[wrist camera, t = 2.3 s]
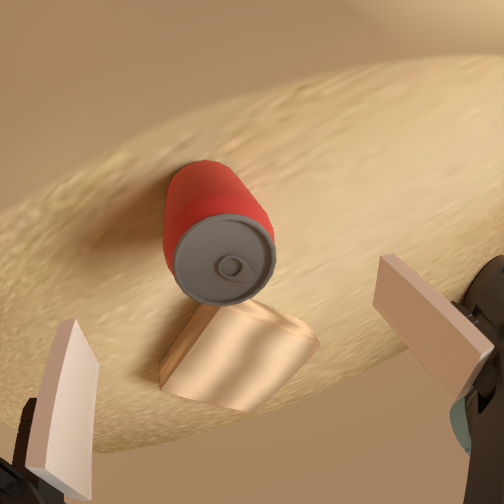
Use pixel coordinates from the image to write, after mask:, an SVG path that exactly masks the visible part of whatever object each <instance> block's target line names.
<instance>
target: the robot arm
mask: <svg viewBox="0 0 504 504" xmlns="http://www.w3.org/2000/svg"><path fill="white" fill-rule="evenodd" d="M372 305H373V306H374V307H375V308H376V309H377V311H378V312H379V313H380V314H381V315H382V316H383V318H384V319H385V320H386V321H387V322H388V323H389V325H390V326H391V327H392V328H393V329H394V331H395V332H396V333H397V334H398V335H399V337H400V338H401V339H402V340H403V341H404V343H405V344H406V345H407V346H408V347H409V349H410V350H411V351H412V352H413V353H414V355H415V356H416V357H417V358H418V360H419V361H420V362H421V363H422V365H423V366H424V367H425V368H426V369H427V371H428V372H429V373H430V375H431V376H432V377H433V378H434V380H435V381H436V382H437V383H438V384H439V386H440V387H441V388H442V390H443V391H444V392H445V393H446V395H447V396H448V398H449V399H450V400H451V401H452V402H453V403H454V402H455V403H454V404H453V405H452V407H451V409H450V422H451V425H452V428H453V431H454V433H455V436H456V438H457V440H458V442H459V443H460V445H461V447H462V448H463V449H465V451H466V453H467V454H468V455H469V456H470V462H469V471H468V478H467V485H466V491H465V497H464V502H463V504H504V255H502V256H498V257H496V258H494V259H493V260H492V261H490V262H489V263H488V264H487V265H486V266H485V267H484V269H483V270H482V271H481V272H480V273H479V275H478V276H477V278H476V279H475V281H474V282H473V284H472V285H471V287H470V289H469V291H468V293H467V295H466V297H465V299H464V302H463V305H460V304H458V303H456V302H454V301H452V302H449V301H448V300H447V299H446V298H445V297H443V296H442V295H441V294H440V293H439V292H438V291H437V290H436V289H435V288H433V287H432V286H431V285H430V284H429V283H428V282H427V281H426V280H424V279H423V278H422V277H421V276H420V275H419V274H418V273H416V272H415V271H414V270H413V269H412V268H411V267H409V266H408V265H407V264H406V263H405V262H404V261H402V260H401V259H400V258H399V257H398V256H396V255H395V254H394V253H391V254H387V255H383V256H380V261H379V268H378V275H377V281H376V287H375V293H374V299H373V304H372ZM99 368H100V364H99V362H98V360H97V358H96V356H95V355H94V353H93V351H92V349H91V347H90V346H89V344H88V342H87V340H86V338H85V336H84V334H83V332H82V330H81V328H80V326H79V324H78V322H77V320H76V318H74V319H68V320H62V321H60V322H59V325H58V328H57V331H56V334H55V337H54V341H53V344H52V347H51V350H50V353H49V357H48V360H47V364H46V367H45V371H44V374H43V378H42V382H41V386H40V390H39V394H38V398H29V400H28V402H27V403H26V405H25V406H24V408H23V411H22V415H21V419H20V421H21V423H20V424H19V429H18V431H19V433H17V438H16V444H15V450H14V455H13V461H12V465H10V464H9V463H8V462H7V461H5V460H4V459H2V458H0V504H66V503H65V502H64V495H66V496H68V497H69V498H71V499H72V500H86V501H91V468H92V466H91V465H92V441H93V426H94V413H95V402H96V393H97V384H98V376H99Z"/></svg>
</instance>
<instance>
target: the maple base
mask: <svg viewBox="0 0 504 504" xmlns="http://www.w3.org/2000/svg"><path fill="white" fill-rule="evenodd" d="M320 347H321V344H320V343H319V341H318V339H317V337H316V336H315V334H314V332H313V330H312V329H311V327H310V325H309V324H308V323H306V322H303V321H301V320H299V319H296V318H294V317H291V316H289V315H287V314H284V313H282V312H280V311H277V310H275V309H273V308H270V307H268V306H266V305H263V304H261V303H259V302H257V301H254V300H252V299H248V300H246V301H244V302H242V303H240V304H235V305H230V306H225V307H220V306H208V305H205V304H202V303H201V304H200V305H199V307H198V308H197V310H196V311H195V313H194V314H193V315H192V317H191V318H190V320H189V321H188V323H187V324H186V326H185V327H184V329H183V330H182V332H181V333H180V335H179V336H178V337H177V339H176V340H175V342H174V343H173V345H172V346H171V348H170V349H169V351H168V352H167V354H166V355H165V357H164V358H163V360H162V361H161V363H160V364H159V379H160V391H163V392H167V393H170V394H174V395H177V396H181V397H185V398H189V399H192V400H196V401H201V402H205V403H209V404H213V405H218V406H222V407H227V408H232V409H236V410H241V411H247V412H252V413H255V412H256V411H257V410H259V409H260V408H261V407H262V406H263V405H264V404H265V403H266V402H267V401H268V400H269V399H270V398H271V397H272V396H273V395H274V394H275V393H276V392H277V391H278V390H279V389H280V388H281V387H282V386H283V385H284V384H285V383H286V382H287V381H288V380H289V379H290V378H291V377H292V376H293V375H294V374H295V373H296V372H297V371H298V370H299V369H300V368H301V367H302V366H303V365H304V364H305V363H306V362H307V361H308V360H309V359H310V358H311V357H312V356H313V355H314V353H315V352H316V351H317V350H318V349H319V348H320Z"/></svg>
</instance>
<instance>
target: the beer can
mask: <svg viewBox="0 0 504 504" xmlns="http://www.w3.org/2000/svg"><path fill="white" fill-rule="evenodd" d="M163 251H164V255H165V259H166V263H167V265H168V268H169V270H170V271H171V273H172V274H173V276H174V277H175V280H176V282H177V284H178V285H179V287H180V288H181V289H182V291H183V292H184V293H185V294H186V295H188V296H189V297H190V298H192V299H193V300H194V301H196V302H199V303H202V304H205V305H208V306H220V307H225V306H230V305H235V304H240V303H242V302H244V301H246V300H248V299H250V298H252V297H254V296H255V295H256V294H257V293H258V292H259V291H260V290H262V289H263V288H264V287H265V285H266V284H267V282H268V281H269V279H270V278H271V276H272V275H273V271H274V268H275V264H276V247H275V243H274V232H273V227H272V225H271V223H270V220H269V218H268V216H267V213H266V212H265V211H264V210H263V208H262V207H261V206H260V204H259V203H258V202H257V201H256V199H255V198H254V197H253V196H252V194H251V193H250V192H249V190H248V189H247V188H246V187H245V185H244V184H243V183H242V182H241V180H240V179H239V178H238V177H237V175H236V174H235V173H234V172H233V171H232V170H231V169H230V168H229V167H227V166H225V165H223V164H221V163H219V162H215V161H208V160H203V161H197V162H192V163H191V164H189V165H187V166H185V167H183V168H181V169H180V170H179V171H178V172H177V173H176V174H175V175H174V176H173V178H172V180H171V182H170V184H169V186H168V188H167V194H166V202H165V218H164V236H163Z"/></svg>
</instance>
